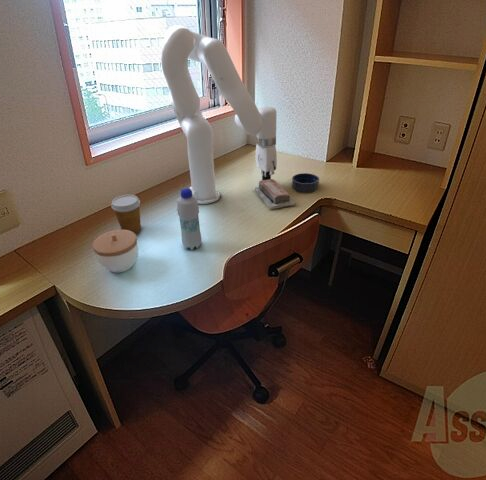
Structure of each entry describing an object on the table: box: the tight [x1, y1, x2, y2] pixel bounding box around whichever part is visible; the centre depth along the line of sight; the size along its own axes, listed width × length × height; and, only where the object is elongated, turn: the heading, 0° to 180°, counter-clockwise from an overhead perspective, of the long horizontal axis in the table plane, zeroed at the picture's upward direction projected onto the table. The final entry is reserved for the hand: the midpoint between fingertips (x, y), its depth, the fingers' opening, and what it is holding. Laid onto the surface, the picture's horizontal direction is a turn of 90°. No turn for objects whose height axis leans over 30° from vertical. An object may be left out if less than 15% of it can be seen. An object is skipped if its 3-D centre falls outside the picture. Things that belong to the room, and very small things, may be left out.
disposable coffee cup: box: [110, 194, 142, 235], centre depth 122 cm, size 10×10×12 cm
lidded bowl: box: [92, 229, 139, 274], centre depth 106 cm, size 13×13×11 cm
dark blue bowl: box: [291, 172, 320, 194], centre depth 147 cm, size 11×11×4 cm
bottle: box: [176, 188, 203, 251], centre depth 110 cm, size 7×7×20 cm
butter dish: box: [254, 178, 296, 211], centre depth 140 cm, size 18×5×10 cm
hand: (266, 183), depth 150 cm, fingers closed
